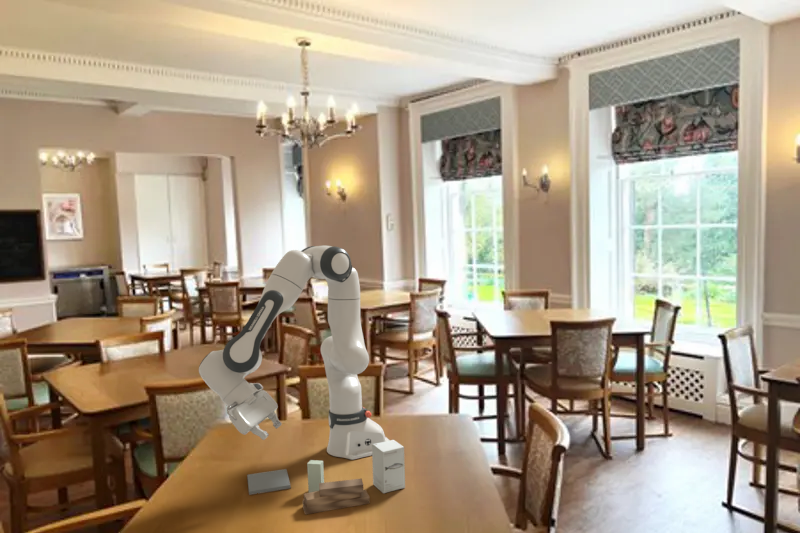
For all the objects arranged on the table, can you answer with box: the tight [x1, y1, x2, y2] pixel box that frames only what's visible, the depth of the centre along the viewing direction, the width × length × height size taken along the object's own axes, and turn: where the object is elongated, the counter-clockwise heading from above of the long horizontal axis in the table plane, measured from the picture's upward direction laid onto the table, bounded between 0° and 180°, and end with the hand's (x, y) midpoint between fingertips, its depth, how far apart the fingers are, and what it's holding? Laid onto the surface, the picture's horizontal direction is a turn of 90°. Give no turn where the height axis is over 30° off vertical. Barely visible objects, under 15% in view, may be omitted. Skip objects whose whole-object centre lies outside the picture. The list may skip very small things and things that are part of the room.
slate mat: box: [246, 468, 291, 496], centre depth 178 cm, size 12×12×1 cm
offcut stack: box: [302, 478, 371, 515], centre depth 162 cm, size 18×6×6 cm, turn 107°
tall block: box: [306, 459, 325, 493], centre depth 171 cm, size 2×4×9 cm, turn 79°
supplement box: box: [371, 439, 406, 494], centre depth 173 cm, size 7×7×13 cm
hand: (273, 432), depth 172 cm, fingers open, 8 cm apart
